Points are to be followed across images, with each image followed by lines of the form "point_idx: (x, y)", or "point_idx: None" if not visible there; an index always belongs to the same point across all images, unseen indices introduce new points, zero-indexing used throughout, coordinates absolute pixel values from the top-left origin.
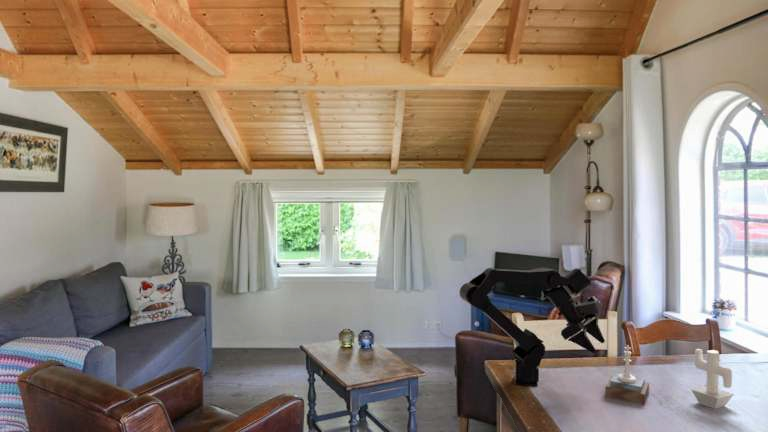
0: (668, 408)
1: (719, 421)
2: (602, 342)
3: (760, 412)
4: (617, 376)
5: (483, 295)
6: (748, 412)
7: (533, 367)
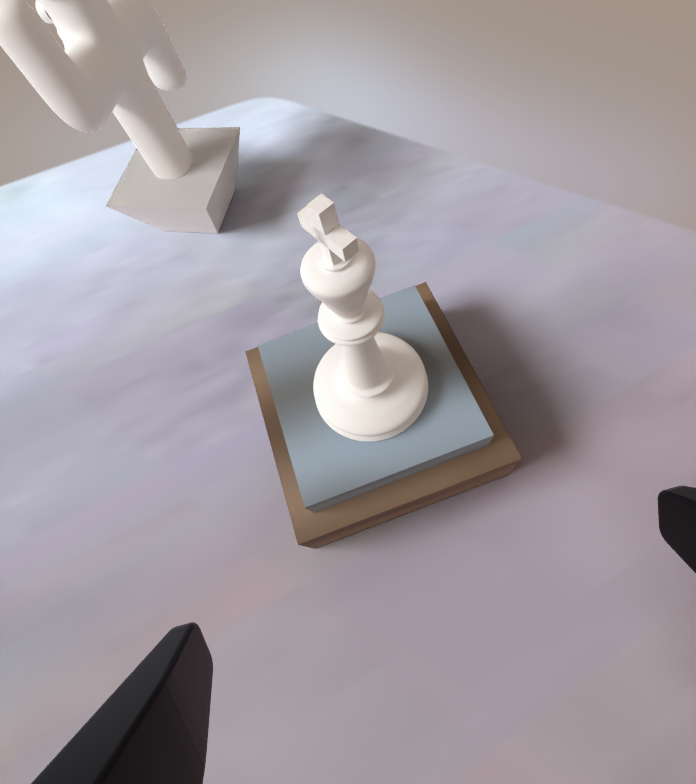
0: None
1: (336, 139)
2: (208, 656)
3: None
4: (367, 452)
5: None
6: None
7: None
